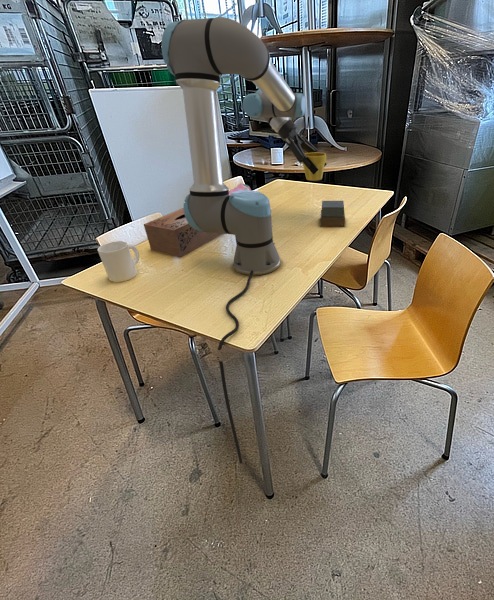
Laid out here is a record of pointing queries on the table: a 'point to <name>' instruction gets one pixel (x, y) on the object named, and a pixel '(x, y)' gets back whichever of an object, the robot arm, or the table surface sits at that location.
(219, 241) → the table surface
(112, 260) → the mug
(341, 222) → the base block
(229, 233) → the robot arm
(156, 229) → the tissue box cover
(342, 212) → the top block
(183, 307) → the table surface
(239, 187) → the pencil case
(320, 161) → the flower pot
